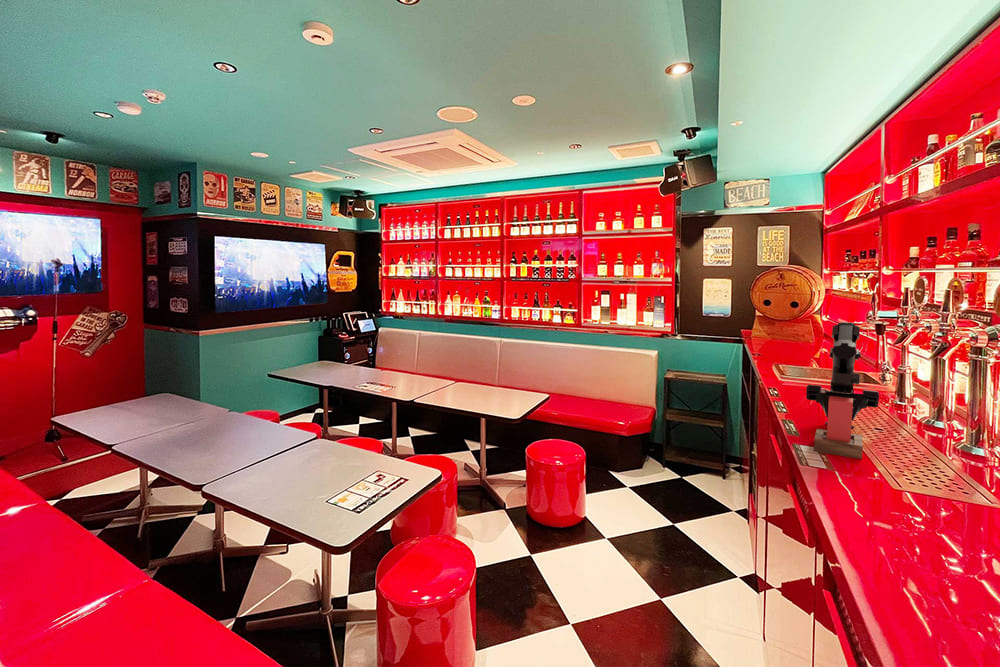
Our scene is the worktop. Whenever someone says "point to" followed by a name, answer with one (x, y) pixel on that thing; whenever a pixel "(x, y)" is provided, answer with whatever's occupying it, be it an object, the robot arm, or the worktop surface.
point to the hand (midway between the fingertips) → (839, 418)
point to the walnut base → (838, 445)
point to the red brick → (839, 418)
